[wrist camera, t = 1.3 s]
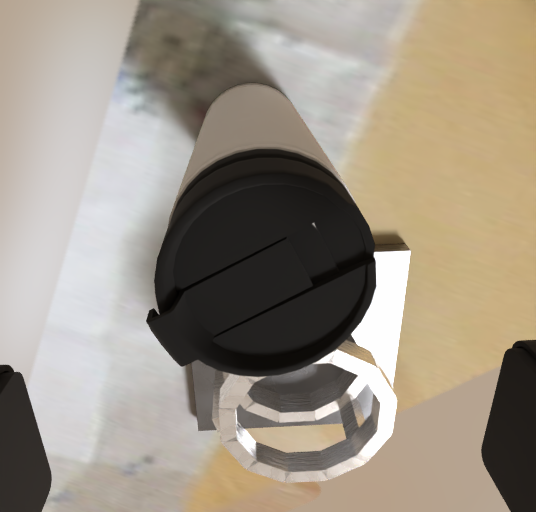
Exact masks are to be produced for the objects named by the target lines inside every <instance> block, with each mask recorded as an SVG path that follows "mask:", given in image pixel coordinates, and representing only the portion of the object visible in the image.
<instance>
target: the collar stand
mask: <svg viewBox="0 0 536 512" xmlns="http://www.w3.org/2000/svg"><path fill="white" fill-rule="evenodd" d="M410 253H411V250H410V249H409V248H408V246H407V245H406V244H382V245H375V249H374V258H375V260H376V284H377V287H376V290H375V293H374V296H373V299H372V302H371V305H370V307H369V309H368V311H367V312H366V314H365V316H364V318H363V320H362V322H361V323H360V324H359V326H358V327H357V328H356V329H355V330H354V332H353V333H352V334H351V335H350V337H349V338H348V339H347V340H346V341H344V342H343V343H342V344H341V345H340V346H339V347H338V348H337V349H336V350H334V351H333V352H332V353H330V354H328V355H327V356H325V357H324V358H322V359H321V360H319V361H317V362H316V363H313V364H311V365H309V366H306V367H304V368H302V369H300V370H297V371H293V372H289V373H285V374H281V375H275V376H265V377H250V376H238V375H234V374H230V373H226V372H222V371H219V370H216V369H214V368H212V367H210V366H208V365H205V364H204V363H202V362H201V361H199V360H196V361H194V362H192V363H191V364H192V374H193V383H194V393H195V402H196V412H197V421H198V431H205V430H217V432H219V431H220V433H221V442H222V444H223V445H224V446H225V448H226V449H227V450H228V451H229V452H230V453H231V454H232V455H233V456H234V457H235V458H236V460H237V461H238V462H239V463H240V464H241V465H242V466H243V467H244V468H245V469H246V468H247V470H248V471H251V472H254V473H257V474H260V475H263V476H266V477H269V478H272V479H274V480H277V481H280V482H284V481H285V483H291V482H308V481H326V479H328V480H330V479H332V478H334V477H336V476H339V475H340V474H343V473H345V472H348V471H350V470H352V469H354V468H356V467H359V466H361V465H363V464H365V462H368V461H369V460H370V458H371V457H372V456H373V455H374V454H375V453H376V452H377V451H378V449H379V448H380V447H381V446H382V445H383V444H384V443H385V441H386V440H387V439H388V438H389V437H390V436H391V433H392V432H393V425H394V417H395V410H396V403H397V399H396V396H395V393H394V391H393V381H394V373H395V366H396V358H397V351H398V343H399V336H400V328H401V321H402V313H403V306H404V298H405V291H406V283H407V276H408V268H409V261H410ZM341 423H343V427H344V430H345V434H346V438H347V439H346V440H343V441H341V442H339V443H337V444H335V445H333V446H330V447H328V448H326V449H324V450H322V451H312V452H294V453H285V452H282V451H280V450H277V449H274V448H271V447H268V446H266V445H263V444H260V443H257V442H255V440H254V439H253V438H252V437H251V436H250V435H249V433H248V432H247V431H246V430H245V429H244V428H263V427H283V426H302V425H321V424H341Z"/></svg>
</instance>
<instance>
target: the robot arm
mask: <svg viewBox="0 0 536 512" xmlns="http://www.w3.org/2000/svg"><path fill="white" fill-rule="evenodd" d="M481 451H482V458H483V462H484V465H485V467H486V469H487V471H488V472H489V474H490V476H491V478H492V479H493V481H494V483H495V485H496V487H497V488H498V490H499V492H500V494H501V495H502V497H503V499H504V500H505V502H506V504H507V506H508V508H509V509H510V511H511V512H536V340H523V341H517V342H515V343H514V345H513V347H512V349H507V351H506V352H505V354H504V358H503V362H502V366H501V370H500V375H499V378H498V382H497V387H496V391H495V395H494V399H493V403H492V407H491V411H490V415H489V419H488V424H487V428H486V431H485V436H484V440H483V444H482V449H481ZM51 480H52V477H51V470H50V467H49V463H48V460H47V456H46V453H45V450H44V446H43V443H42V439H41V436H40V433H39V429H38V426H37V422H36V419H35V416H34V412H33V409H32V405H31V402H30V399H29V395H28V392H27V388H26V385H25V382H24V379H23V376H22V374H21V373H20V372H14V370H13V369H12V367H11V366H9V365H0V512H42V509H43V507H44V504H45V502H46V499H47V497H48V494H49V491H50V487H51Z"/></svg>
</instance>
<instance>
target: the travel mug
mask: <svg viewBox="0 0 536 512" xmlns="http://www.w3.org/2000/svg"><path fill="white" fill-rule="evenodd" d="M374 249H375V243H374V240H373V237H372V234H371V231H370V228H369V225H368V224H367V222H366V220H365V219H364V217H363V215H362V214H361V212H360V210H359V208H358V207H357V205H356V203H355V200H354V198H353V196H352V195H351V193H350V191H349V190H348V188H347V186H346V185H345V183H344V182H343V180H342V179H341V177H340V175H339V174H338V172H337V171H336V169H335V168H334V166H333V165H332V163H331V162H330V160H329V159H328V157H327V156H326V154H325V153H324V151H323V150H322V148H321V147H320V145H319V144H318V142H317V141H316V139H315V138H314V136H313V135H312V133H311V132H310V130H309V128H308V127H307V125H306V124H305V122H304V121H303V119H302V118H301V116H300V115H299V113H298V112H297V110H296V109H295V107H294V106H293V104H292V103H291V102H290V101H289V99H288V98H287V97H286V96H285V95H284V94H282V93H281V92H279V91H278V90H277V89H274V88H272V87H270V86H268V85H264V84H259V83H245V84H239V85H236V86H234V87H231V88H229V89H227V90H226V91H224V92H223V93H221V94H220V95H219V96H218V97H217V98H216V99H215V100H214V101H213V103H212V104H211V106H210V107H209V109H208V111H207V113H206V116H205V119H204V122H203V124H202V127H201V130H200V133H199V136H198V138H197V141H196V144H195V147H194V150H193V153H192V155H191V158H190V161H189V164H188V167H187V170H186V172H185V175H184V178H183V181H182V184H181V187H180V189H179V192H178V195H177V198H176V201H175V203H174V206H173V209H172V212H171V215H170V219H169V226H168V229H167V232H166V235H165V238H164V241H163V244H162V247H161V250H160V253H159V255H158V258H157V264H156V271H155V279H154V283H155V294H156V300H157V305H158V309H159V314H160V315H159V314H158V313H157V312H156V310H155V309H154V308H153V309H151V310H149V313H148V317H147V320H146V322H147V324H148V325H149V327H150V329H151V331H152V332H153V334H154V335H155V336H156V338H157V339H158V341H159V342H160V343H161V345H162V346H163V347H164V348H165V350H166V351H167V352H168V353H169V354H170V356H171V357H172V358H173V359H174V360H175V361H176V362H177V363H178V364H179V365H180V366H185V365H187V364H189V363H192V362H194V361H196V360H199V361H201V362H202V363H204V364H205V365H208V366H210V367H212V368H214V369H216V370H219V371H222V372H226V373H230V374H234V375H238V376H250V377H265V376H275V375H281V374H285V373H289V372H293V371H297V370H300V369H302V368H304V367H306V366H309V365H311V364H313V363H316V362H317V361H319V360H321V359H322V358H324V357H325V356H327V355H328V354H330V353H332V352H333V351H334V350H336V349H337V348H338V347H339V346H340V345H341V344H342V343H343V342H344V341H346V340H347V339H348V338H349V337H350V335H351V334H352V333H353V332H354V330H355V329H356V328H357V327H358V326H359V324H360V323H361V322H362V320H363V318H364V316H365V314H366V312H367V311H368V309H369V307H370V305H371V302H372V299H373V296H374V293H375V290H376V287H377V284H376V260H375V258H374Z"/></svg>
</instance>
